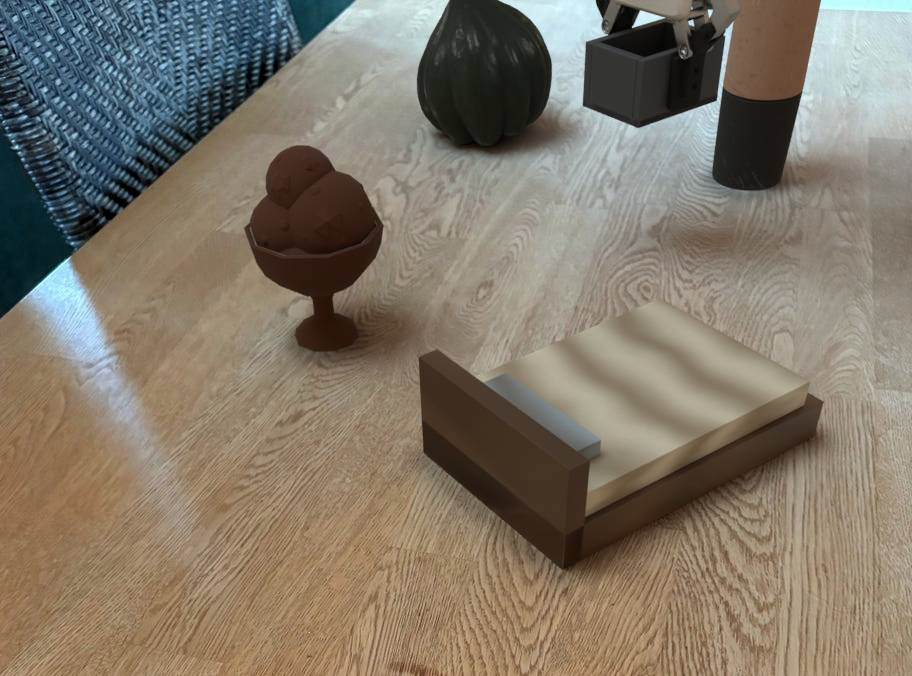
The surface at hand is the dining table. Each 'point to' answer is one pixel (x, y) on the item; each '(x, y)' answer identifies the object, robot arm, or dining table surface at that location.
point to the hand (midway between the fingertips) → (650, 93)
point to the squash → (483, 72)
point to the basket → (641, 73)
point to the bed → (561, 470)
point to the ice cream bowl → (314, 239)
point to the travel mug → (762, 90)
